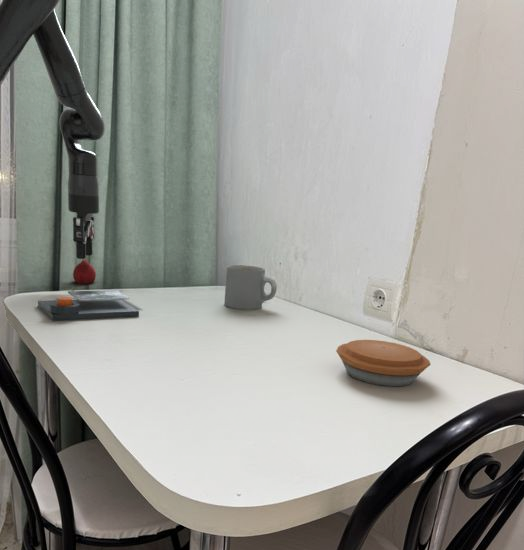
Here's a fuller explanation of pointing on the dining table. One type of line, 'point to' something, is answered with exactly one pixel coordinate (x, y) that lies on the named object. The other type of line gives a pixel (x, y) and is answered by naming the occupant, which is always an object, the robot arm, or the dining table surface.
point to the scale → (87, 310)
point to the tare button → (64, 301)
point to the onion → (84, 273)
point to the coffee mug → (247, 287)
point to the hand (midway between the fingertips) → (84, 256)
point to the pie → (382, 362)
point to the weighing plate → (97, 295)
